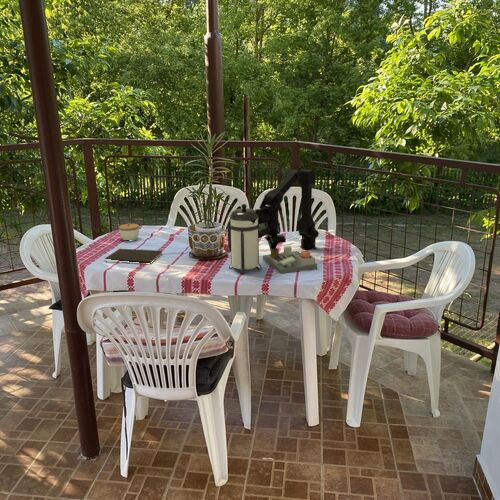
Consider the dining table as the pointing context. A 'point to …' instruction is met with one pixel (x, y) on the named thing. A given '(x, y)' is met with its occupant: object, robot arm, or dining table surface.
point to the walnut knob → (275, 253)
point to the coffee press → (244, 239)
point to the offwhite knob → (287, 250)
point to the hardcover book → (135, 255)
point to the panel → (291, 267)
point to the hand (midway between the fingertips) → (272, 252)
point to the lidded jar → (129, 231)
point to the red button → (305, 254)
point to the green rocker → (287, 260)
